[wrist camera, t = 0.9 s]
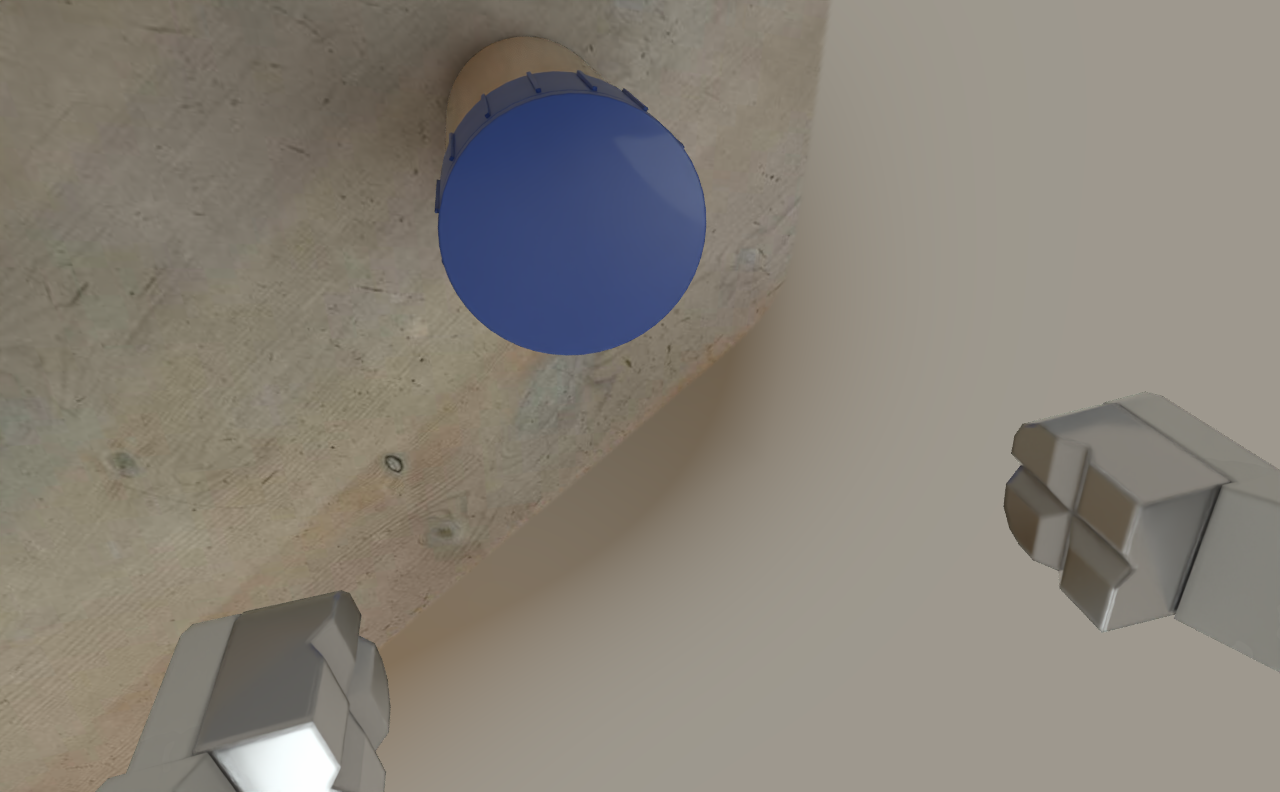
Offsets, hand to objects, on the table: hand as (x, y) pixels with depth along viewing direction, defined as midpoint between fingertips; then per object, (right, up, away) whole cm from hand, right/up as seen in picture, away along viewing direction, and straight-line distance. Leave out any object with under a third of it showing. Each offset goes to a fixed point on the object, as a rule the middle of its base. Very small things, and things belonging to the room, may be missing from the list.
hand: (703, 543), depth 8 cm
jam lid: (-3, +7, +12) cm, 14 cm away
